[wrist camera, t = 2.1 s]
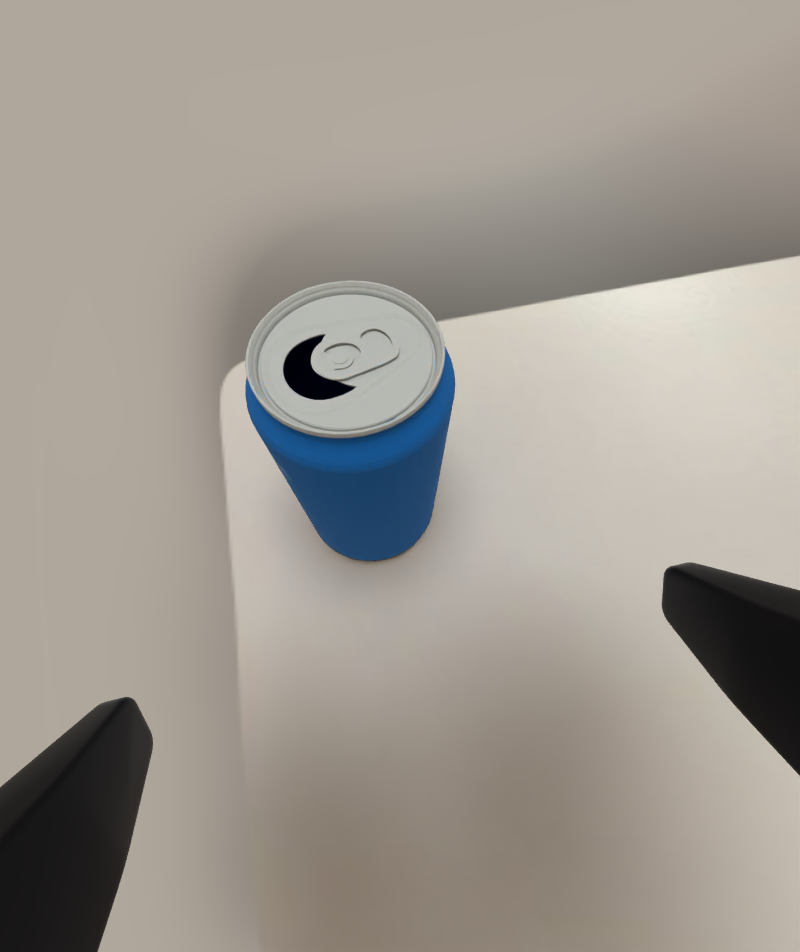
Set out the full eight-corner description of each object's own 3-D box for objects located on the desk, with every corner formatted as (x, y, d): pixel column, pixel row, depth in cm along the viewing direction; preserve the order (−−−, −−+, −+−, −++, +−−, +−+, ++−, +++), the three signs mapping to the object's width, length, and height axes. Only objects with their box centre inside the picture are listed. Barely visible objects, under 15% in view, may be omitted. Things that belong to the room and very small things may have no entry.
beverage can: (295, 482, 23) (201, 313, 12) (398, 436, 24) (395, 246, 14) (342, 587, 21) (276, 491, 10) (454, 529, 22) (506, 388, 11)
